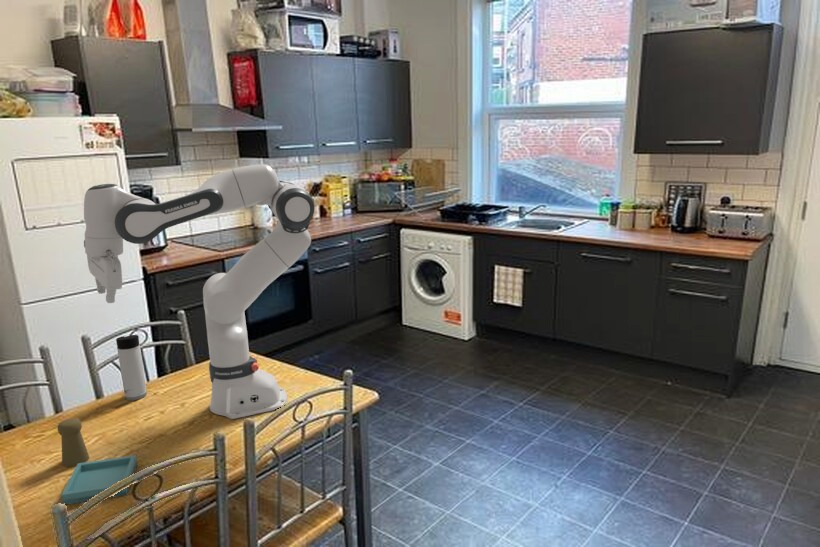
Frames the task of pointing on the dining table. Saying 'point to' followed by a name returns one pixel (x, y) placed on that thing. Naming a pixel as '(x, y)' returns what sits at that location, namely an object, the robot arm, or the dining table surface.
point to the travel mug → (131, 367)
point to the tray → (97, 478)
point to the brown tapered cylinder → (72, 443)
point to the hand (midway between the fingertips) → (105, 297)
